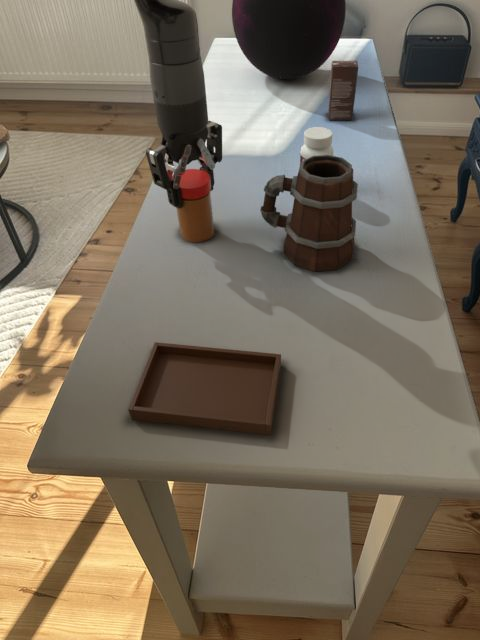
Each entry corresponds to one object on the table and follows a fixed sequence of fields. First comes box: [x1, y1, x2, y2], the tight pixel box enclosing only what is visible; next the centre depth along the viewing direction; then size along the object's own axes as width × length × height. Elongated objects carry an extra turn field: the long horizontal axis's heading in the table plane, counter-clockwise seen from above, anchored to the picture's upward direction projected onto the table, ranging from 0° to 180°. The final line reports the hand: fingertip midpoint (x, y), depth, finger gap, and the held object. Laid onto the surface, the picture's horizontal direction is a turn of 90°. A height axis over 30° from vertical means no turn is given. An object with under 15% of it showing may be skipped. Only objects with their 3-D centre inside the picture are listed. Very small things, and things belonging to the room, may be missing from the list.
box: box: [327, 60, 359, 121], centre depth 115 cm, size 6×4×12 cm
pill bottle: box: [299, 126, 334, 166], centre depth 92 cm, size 6×6×11 cm
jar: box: [176, 191, 215, 243], centre depth 83 cm, size 6×6×10 cm
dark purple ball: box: [231, 0, 347, 80], centre depth 128 cm, size 30×30×30 cm
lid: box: [172, 168, 211, 199], centre depth 79 cm, size 6×6×2 cm
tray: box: [127, 341, 282, 436], centre depth 61 cm, size 17×11×2 cm, turn 82°
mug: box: [259, 155, 359, 272], centre depth 77 cm, size 16×12×15 cm
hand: (192, 197), depth 81 cm, fingers closed on lid, 6 cm apart
